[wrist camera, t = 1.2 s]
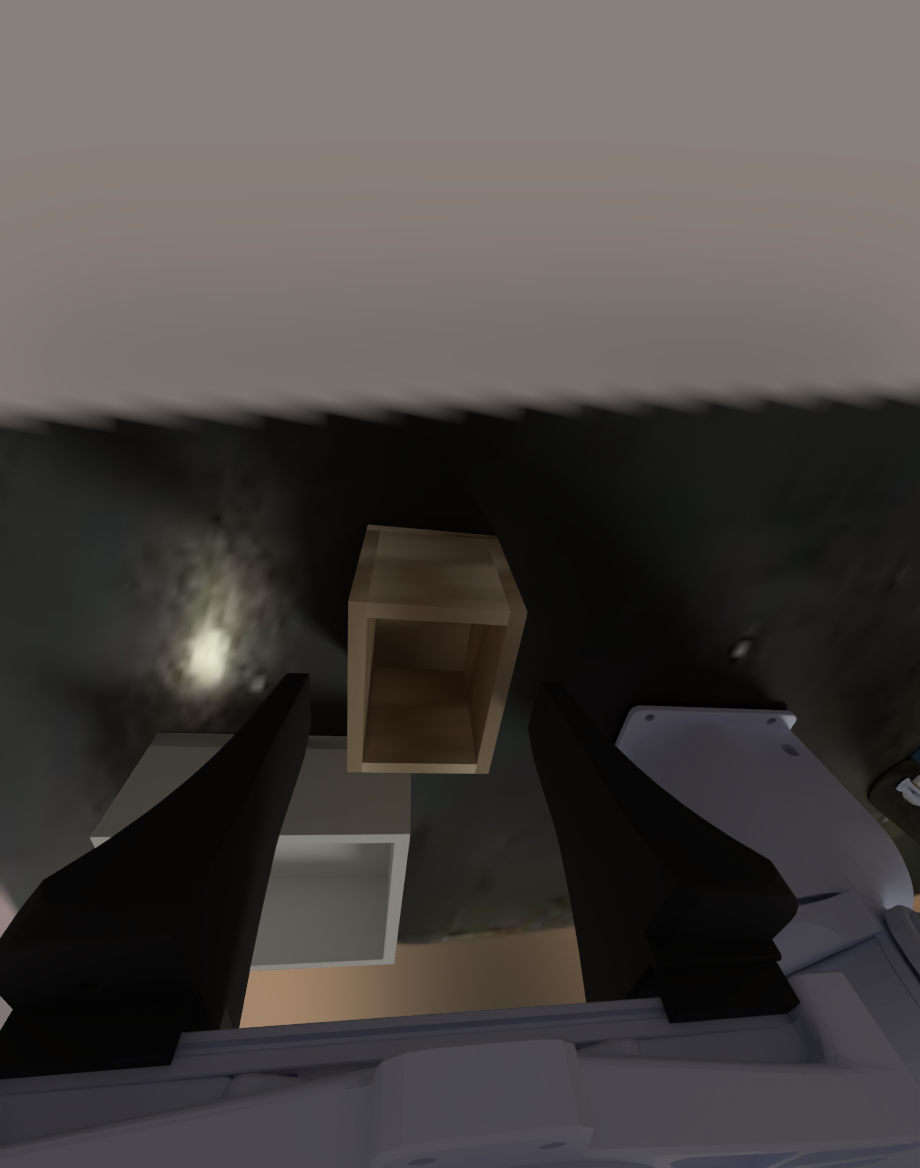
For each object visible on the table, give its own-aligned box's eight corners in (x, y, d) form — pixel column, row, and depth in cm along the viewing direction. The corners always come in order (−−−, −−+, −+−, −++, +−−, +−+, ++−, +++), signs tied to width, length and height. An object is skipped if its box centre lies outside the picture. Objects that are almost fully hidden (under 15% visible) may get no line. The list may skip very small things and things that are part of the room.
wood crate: (496, 535, 17) (527, 612, 12) (471, 672, 21) (488, 773, 16) (368, 524, 16) (348, 601, 12) (363, 667, 20) (347, 772, 15)
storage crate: (411, 737, 22) (410, 834, 18) (397, 867, 28) (393, 964, 24) (158, 732, 21) (89, 837, 16) (198, 871, 26) (155, 975, 22)
